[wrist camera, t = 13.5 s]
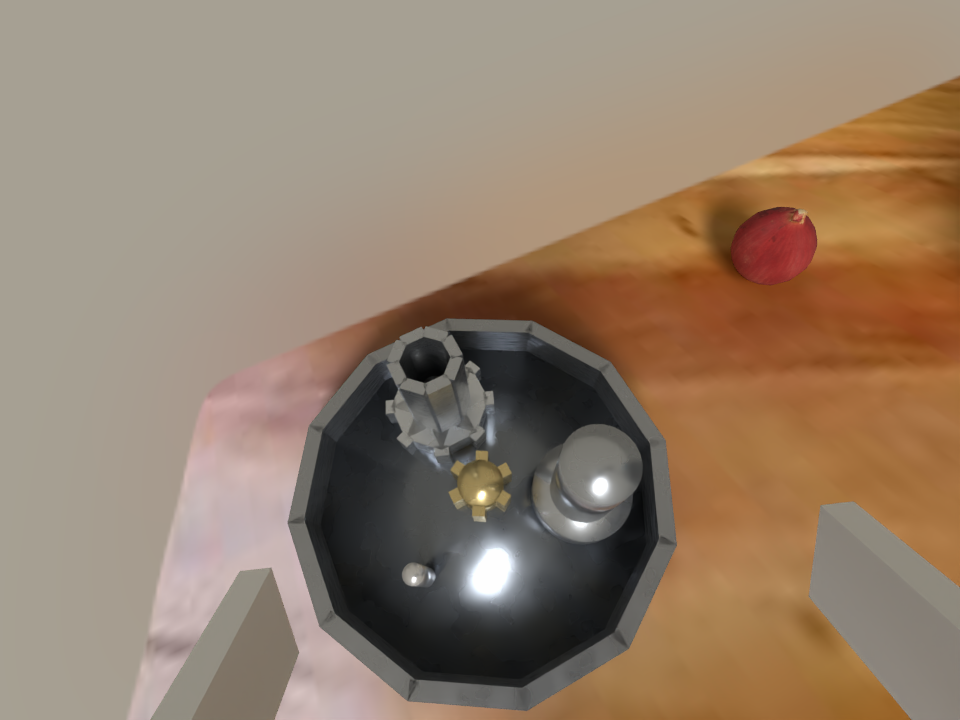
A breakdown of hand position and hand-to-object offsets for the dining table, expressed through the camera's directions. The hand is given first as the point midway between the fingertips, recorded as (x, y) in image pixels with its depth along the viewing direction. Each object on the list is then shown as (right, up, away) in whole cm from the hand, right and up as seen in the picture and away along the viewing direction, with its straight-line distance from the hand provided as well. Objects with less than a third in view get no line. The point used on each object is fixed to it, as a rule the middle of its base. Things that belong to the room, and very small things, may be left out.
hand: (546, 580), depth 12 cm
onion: (+22, +13, +30) cm, 39 cm away
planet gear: (-4, +2, +25) cm, 25 cm away
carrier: (-1, -4, +23) cm, 24 cm away
